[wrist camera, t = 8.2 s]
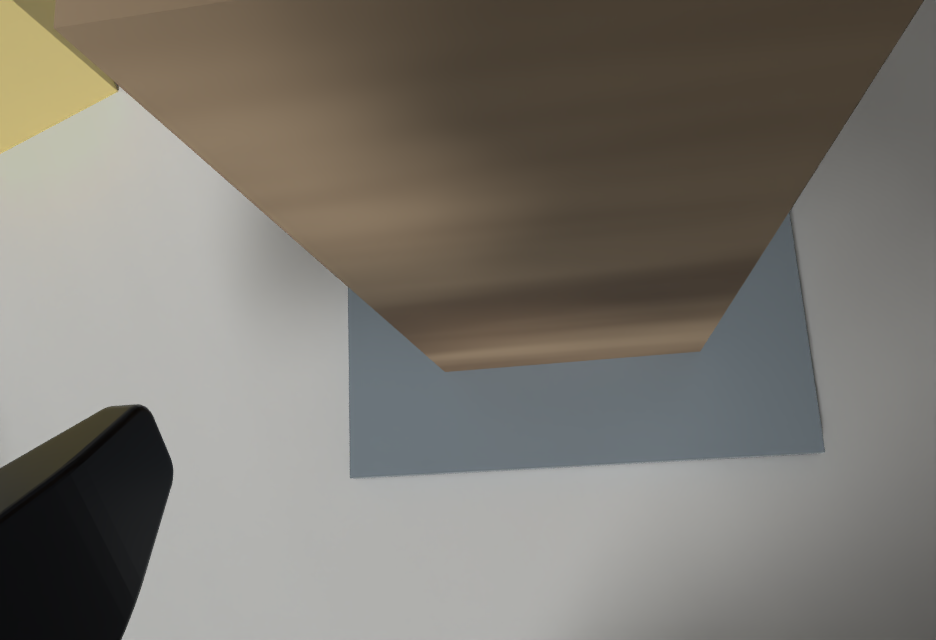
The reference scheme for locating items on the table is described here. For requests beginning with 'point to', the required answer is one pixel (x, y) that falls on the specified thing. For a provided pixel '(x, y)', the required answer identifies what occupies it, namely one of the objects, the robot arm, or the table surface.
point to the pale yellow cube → (41, 73)
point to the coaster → (593, 395)
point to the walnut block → (510, 148)
